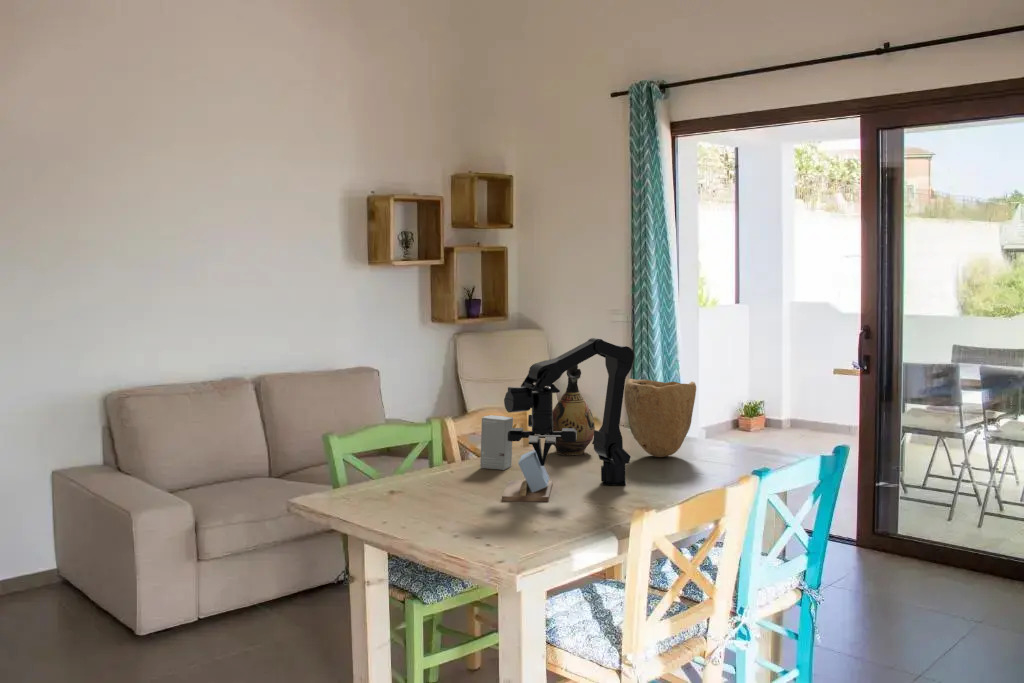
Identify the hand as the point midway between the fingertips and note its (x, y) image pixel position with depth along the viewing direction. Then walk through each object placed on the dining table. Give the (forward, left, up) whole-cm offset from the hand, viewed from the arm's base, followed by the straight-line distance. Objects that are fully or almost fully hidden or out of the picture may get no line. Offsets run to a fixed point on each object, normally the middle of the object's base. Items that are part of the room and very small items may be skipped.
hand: (542, 465), depth 270 cm
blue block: (0, 0, -6) cm, 6 cm away
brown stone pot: (-35, -47, -8) cm, 59 cm away
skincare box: (+16, -31, -8) cm, 36 cm away
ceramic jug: (-6, -54, -8) cm, 55 cm away
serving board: (+4, 0, -8) cm, 9 cm away
